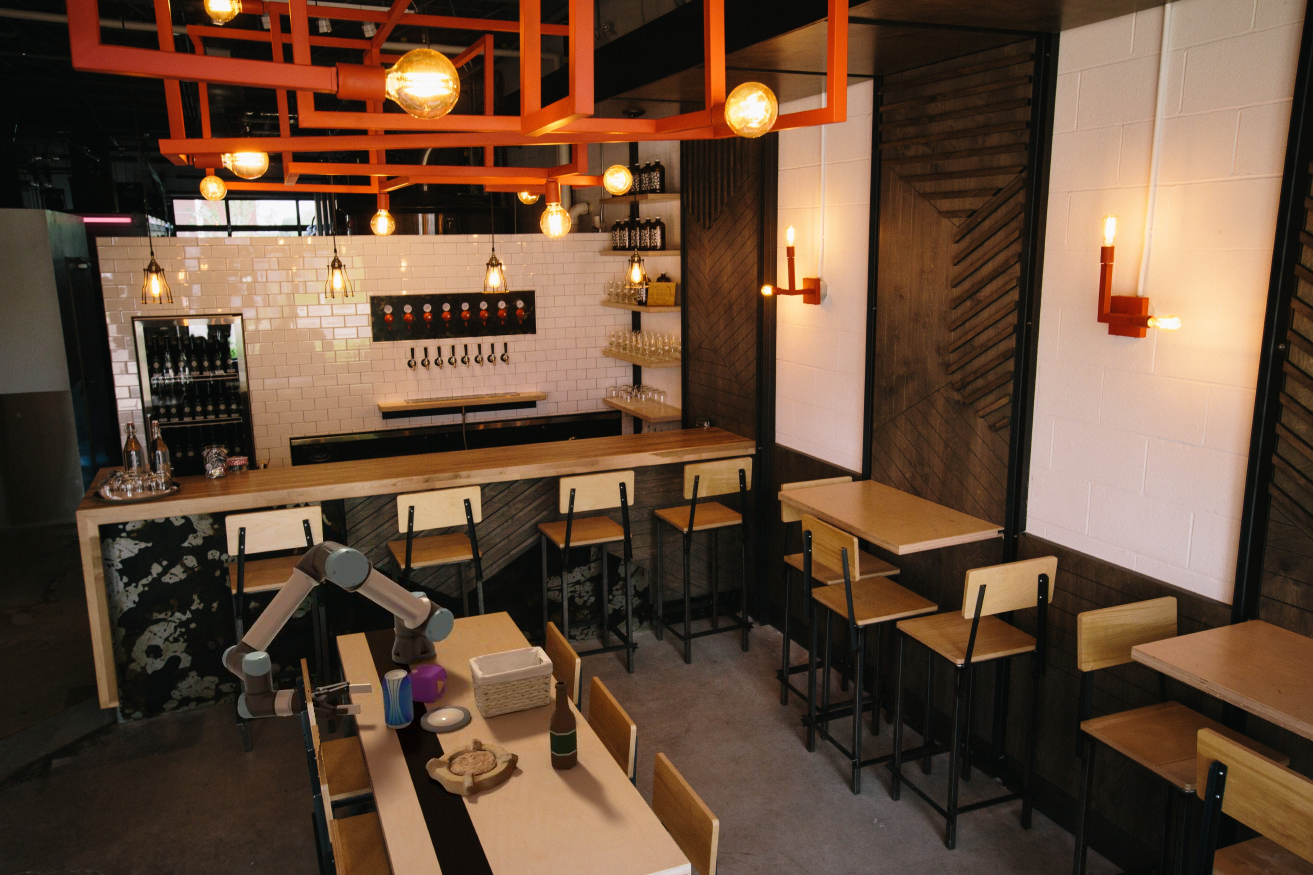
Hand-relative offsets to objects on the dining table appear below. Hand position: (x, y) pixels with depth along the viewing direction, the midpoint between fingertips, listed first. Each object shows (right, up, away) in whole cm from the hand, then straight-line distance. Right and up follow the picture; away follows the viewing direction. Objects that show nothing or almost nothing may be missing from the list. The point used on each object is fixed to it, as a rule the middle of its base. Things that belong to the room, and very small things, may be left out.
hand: (365, 698), depth 265 cm
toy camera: (+14, -5, +21) cm, 25 cm away
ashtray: (+38, -13, -25) cm, 47 cm away
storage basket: (+43, -6, +14) cm, 45 cm away
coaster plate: (+24, -8, +3) cm, 25 cm away
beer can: (+10, -9, +2) cm, 13 cm away
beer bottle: (+63, -12, -22) cm, 68 cm away
